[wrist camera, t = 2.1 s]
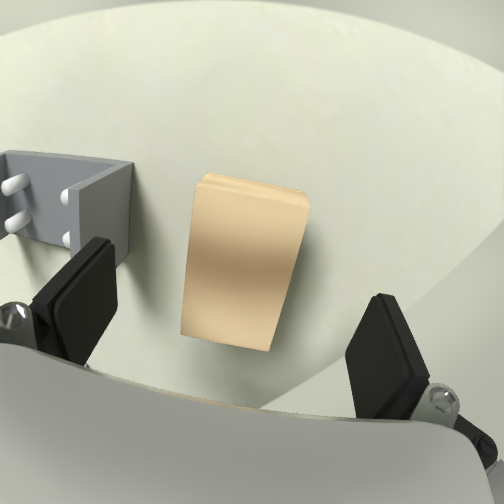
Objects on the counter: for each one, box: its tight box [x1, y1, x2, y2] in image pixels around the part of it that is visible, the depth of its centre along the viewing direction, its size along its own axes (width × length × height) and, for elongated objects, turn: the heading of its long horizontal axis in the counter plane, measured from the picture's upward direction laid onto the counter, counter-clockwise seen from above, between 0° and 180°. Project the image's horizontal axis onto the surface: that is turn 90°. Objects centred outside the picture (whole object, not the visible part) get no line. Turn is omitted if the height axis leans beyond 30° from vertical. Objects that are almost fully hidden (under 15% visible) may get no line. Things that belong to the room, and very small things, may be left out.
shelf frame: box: [0, 150, 133, 268], centre depth 16 cm, size 6×11×6 cm, turn 79°
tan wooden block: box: [180, 173, 310, 351], centre depth 15 cm, size 8×4×2 cm, turn 169°
